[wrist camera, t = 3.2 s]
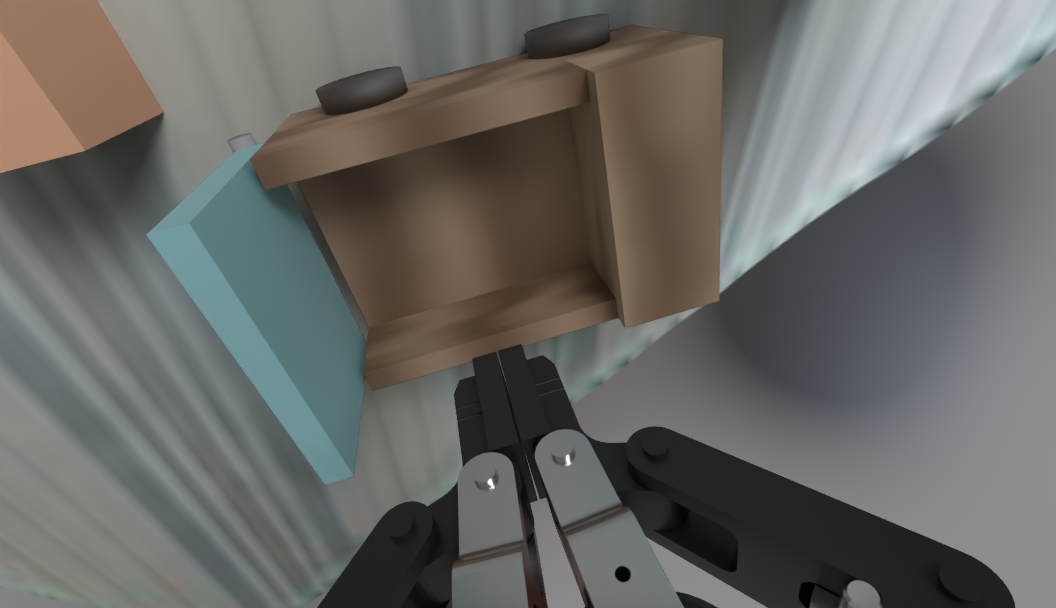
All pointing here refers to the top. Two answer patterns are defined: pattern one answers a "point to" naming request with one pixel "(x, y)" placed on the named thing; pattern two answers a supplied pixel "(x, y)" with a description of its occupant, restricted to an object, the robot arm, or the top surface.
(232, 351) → the tailgate
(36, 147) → the tapered tan wedge
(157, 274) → the top surface
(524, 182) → the truck bed
